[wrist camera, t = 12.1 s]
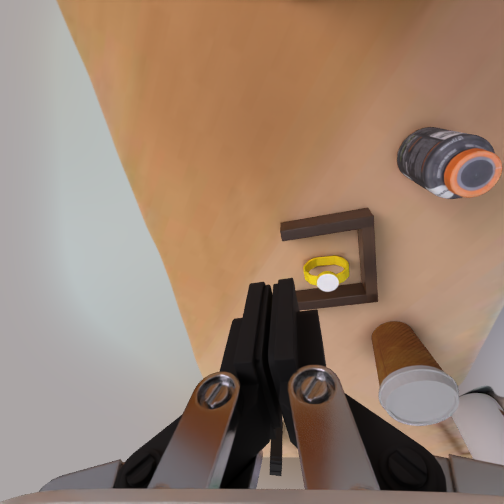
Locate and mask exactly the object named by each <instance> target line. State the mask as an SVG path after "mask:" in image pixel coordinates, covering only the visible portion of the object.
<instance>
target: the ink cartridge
mask: <svg viewBox="0 0 504 504" xmlns="http://www.w3.org/2000/svg"><path fill="white" fill-rule="evenodd" d="M282 430H283V421H282V427H281V428H276V439H271V452H270V475H276V476H281V471H282Z"/></svg>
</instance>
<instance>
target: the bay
mask: <svg viewBox="0 0 504 504" xmlns="http://www.w3.org/2000/svg"><path fill="white" fill-rule="evenodd" d="M356 229H358V242H359V254H360V267H361V280H362V283H357V284H349V285H341V286H338V287H337V288H336V289H335V290H333V291H330V292H325V291H322V290H320V289H319V288H317V289H309V290H301V291H296V296H297V301H298V306H299V311H300V310H309V309H318V308H326V307H335V306H344V305H353V304H362V303H372V302H378V290H377V271H376V252H375V233H374V216H373V214H372V213H371V212H370V210H369V209H368V208H364V209H358V210H352V211H347V212H341V213H335V214H329V215H323V216H318V217H312V218H306V219H300V220H294V221H289V222H283V223H281V227H280V233H281V238H282V241H287V240H294V239H300V238H306V237H312V236H319V235H325V234H331V233H337V232H344V231H350V230H356Z"/></svg>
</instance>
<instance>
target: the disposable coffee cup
mask: <svg viewBox="0 0 504 504" xmlns="http://www.w3.org/2000/svg"><path fill="white" fill-rule="evenodd" d="M372 343H373V349H374V355H375V361H376V367H377V373H378V379H379V385H380V389H379V401H380V403H381V405H382V407H383V408H384V409H385V410H386V411H387V412H388V414H389V415H390V416H391V417H392V418H393V419H395V420H397V421H398V422H401V423H404V424H407V425H415V426H425V425H431V424H435V423H438V422H441V421H443V420H445V419H447V418H448V417H450V416H452V414H453V413H454V412H455V411H456V410H457V408H458V405H459V396H458V393H459V390H458V386H457V384H456V382H455V381H454V379H453V378H452V377H450V376H449V375H448V374H446V373H445V372H444V371H443V370H442V368H441V367H440V366H439V364H438V363H437V362H436V361H435V359H434V358H433V357H432V356H431V354H430V353H429V351H428V350H427V349H426V347H425V346H424V345H423V344H422V342H421V341H420V339H419V338H418V337H417V336H416V334H415V333H414V332H413V330H412V329H411V328H410V327H409V326H408V325H407V324H405V323H402V322H387V323H384V324H382V325H380V326H379V327H377V328H376V329H375V331H374V332H373V334H372Z"/></svg>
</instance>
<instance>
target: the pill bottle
mask: <svg viewBox="0 0 504 504" xmlns="http://www.w3.org/2000/svg"><path fill="white" fill-rule="evenodd" d="M397 163H398V167H399V169H400V171H401V172H402V173H403V174H404V175H405V176H406V177H408V178H409V179H411V180H412V181H414V182H415V183H417V184H419V185H420V186H422V187H423V188H425V189H427V190H428V191H430V192H431V193H433V194H435V195H437V196H439V197H442V198H446V199H456V198H462V197H466V198H471V197H477V196H480V195H482V194H484V193H486V192H487V191H489V190H490V189H491V188H492V187H494V185H495V184H496V183H497V181H498V180H499V178H500V176H501V172H502V163H501V161H500V158H499V157H498V156H497V155H496V154H495V152H494V149H493V147H492V145H491V144H490V143H489V142H488V141H487V140H486V139H484V138H482V137H480V136H477V135H473V134H467V133H461V132H456V131H451V130H446V129H440V128H434V127H427V128H423V129H420V130H417V131H415V132H414V133H412V134H411V135H409V136H408V137H407V138H406V139H405V140H404V142H403V143H402V145H401V146H400V149H399V151H398V157H397Z"/></svg>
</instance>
